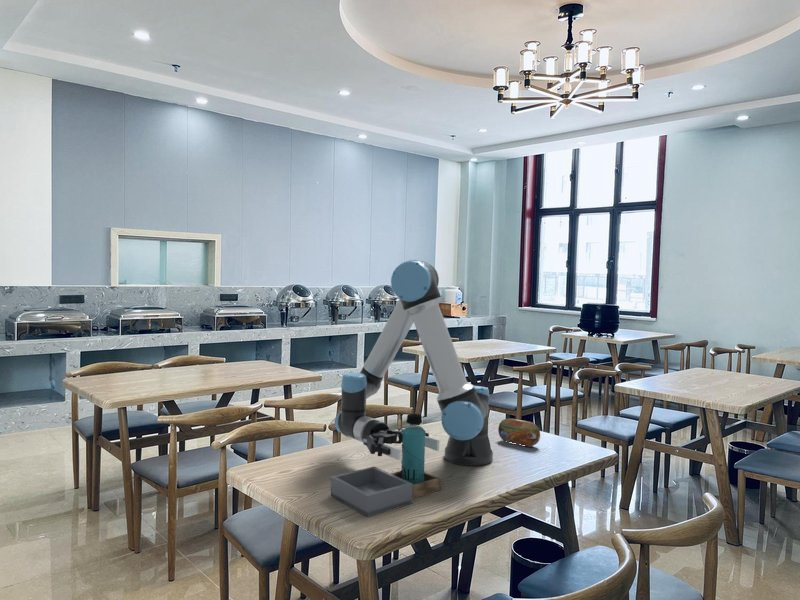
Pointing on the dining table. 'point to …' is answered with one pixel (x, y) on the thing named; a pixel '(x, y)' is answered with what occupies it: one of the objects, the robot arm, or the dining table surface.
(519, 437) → the tin
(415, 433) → the beverage bottle
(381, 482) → the tub
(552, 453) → the dining table surface
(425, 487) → the box
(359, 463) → the dining table surface
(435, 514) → the dining table surface
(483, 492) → the dining table surface
